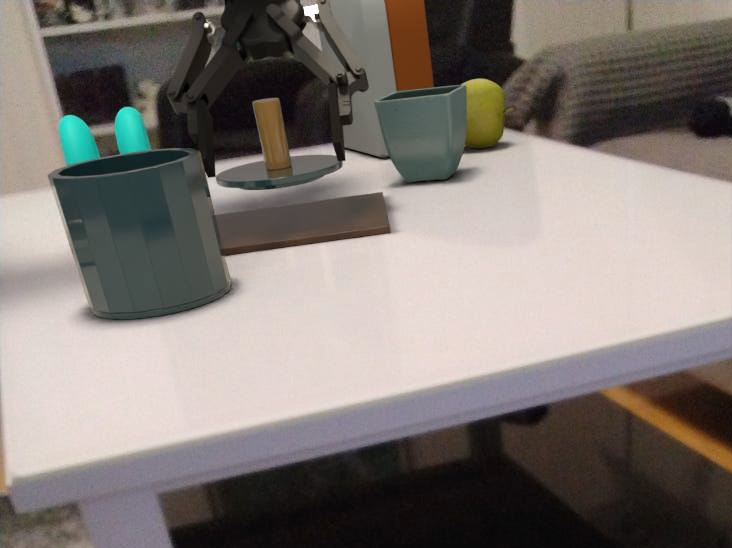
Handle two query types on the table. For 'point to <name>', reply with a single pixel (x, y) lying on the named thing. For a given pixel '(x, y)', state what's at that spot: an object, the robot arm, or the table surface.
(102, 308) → the canister
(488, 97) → the apple
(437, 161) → the flower pot
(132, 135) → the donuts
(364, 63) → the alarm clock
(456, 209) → the table surface
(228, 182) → the lid
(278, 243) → the board
